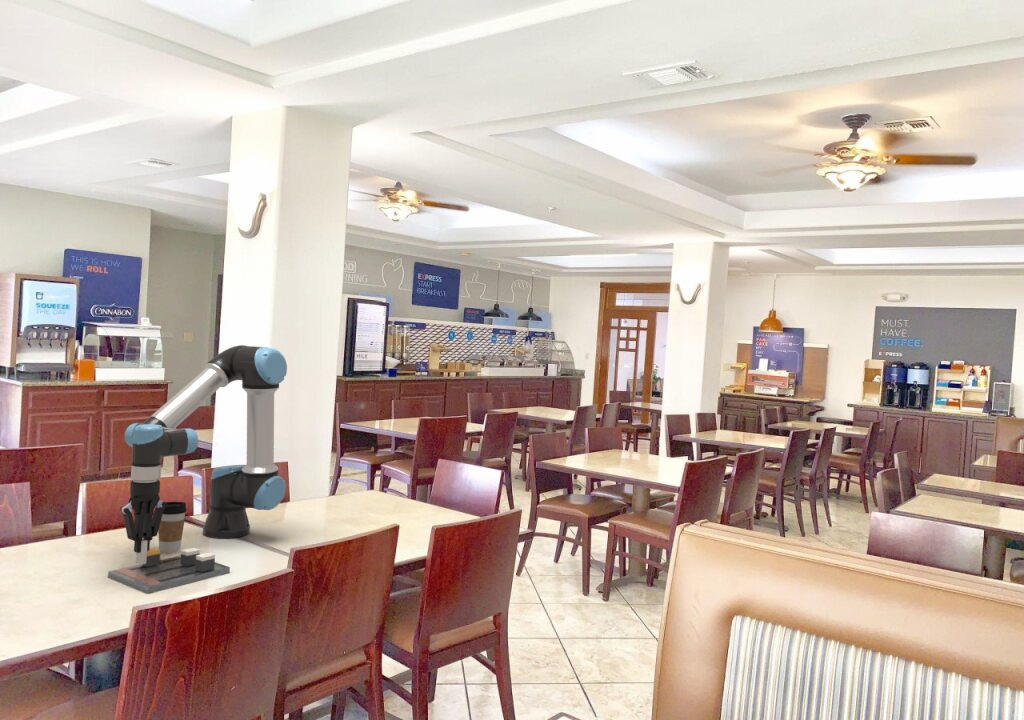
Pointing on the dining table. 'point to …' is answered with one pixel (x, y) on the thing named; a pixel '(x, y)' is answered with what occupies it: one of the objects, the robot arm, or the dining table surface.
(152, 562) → the block
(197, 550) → the block
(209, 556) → the block
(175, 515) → the coffee cup
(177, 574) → the panel
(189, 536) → the dining table surface
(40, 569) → the dining table surface
